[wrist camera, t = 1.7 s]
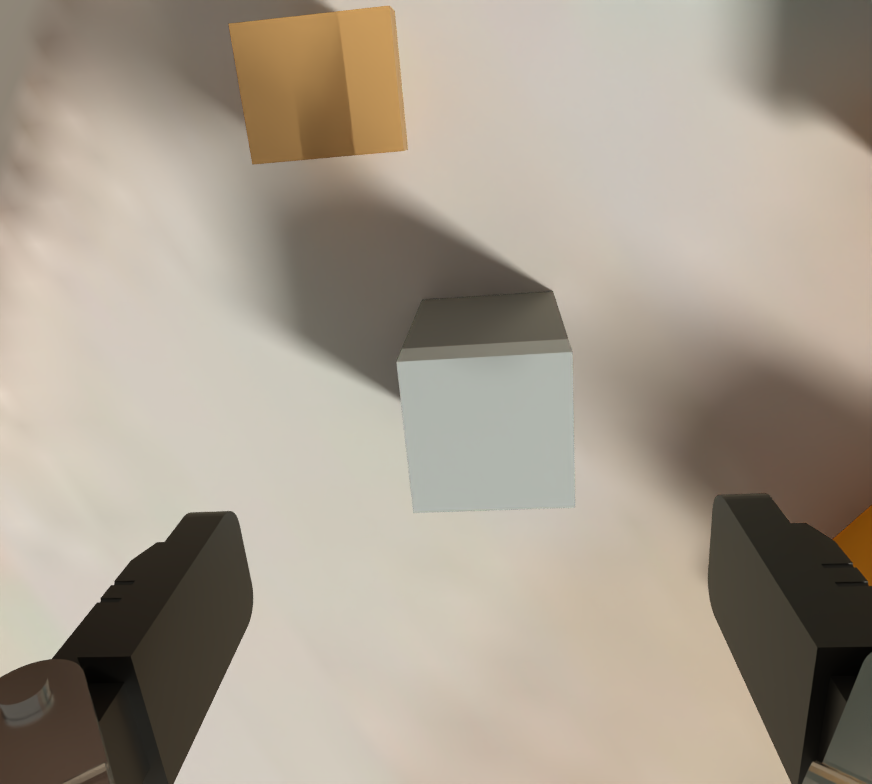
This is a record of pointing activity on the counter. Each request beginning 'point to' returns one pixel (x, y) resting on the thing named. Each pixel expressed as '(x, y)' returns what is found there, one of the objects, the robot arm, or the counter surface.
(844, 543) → the bracket
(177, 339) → the counter surface
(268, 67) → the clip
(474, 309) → the block
